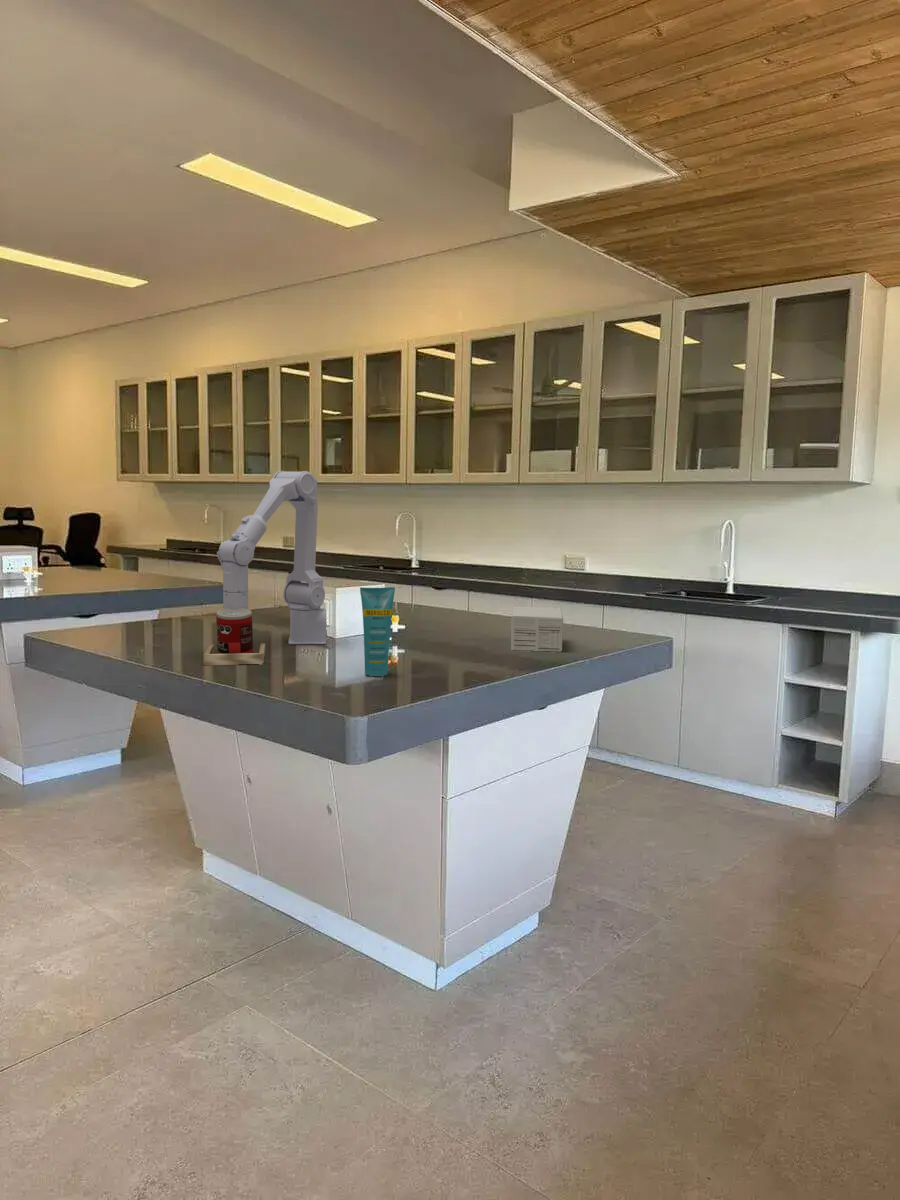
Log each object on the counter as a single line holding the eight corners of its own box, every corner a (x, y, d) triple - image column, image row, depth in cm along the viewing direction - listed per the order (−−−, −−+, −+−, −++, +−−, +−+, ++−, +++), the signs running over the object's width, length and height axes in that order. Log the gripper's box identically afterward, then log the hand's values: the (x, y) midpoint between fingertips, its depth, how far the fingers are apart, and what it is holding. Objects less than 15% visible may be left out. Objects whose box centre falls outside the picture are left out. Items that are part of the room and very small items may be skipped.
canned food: (216, 653, 200) (214, 608, 197) (251, 650, 203) (249, 606, 200) (219, 664, 193) (217, 617, 190) (255, 661, 196) (254, 615, 193)
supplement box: (511, 639, 232) (512, 605, 230) (560, 641, 230) (561, 607, 229) (509, 651, 215) (511, 614, 214) (562, 653, 214) (563, 616, 212)
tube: (361, 677, 181) (362, 588, 179) (357, 673, 186) (358, 585, 183) (395, 676, 183) (396, 588, 181) (391, 671, 188) (392, 585, 185)
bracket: (265, 653, 205) (265, 643, 205) (263, 664, 193) (263, 654, 192) (209, 654, 203) (209, 644, 203) (204, 665, 190) (203, 654, 190)
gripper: (220, 587, 206) (221, 642, 208) (215, 595, 192) (215, 654, 194) (250, 587, 208) (251, 642, 209) (247, 595, 193) (247, 653, 195)
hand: (236, 648), depth 202 cm, fingers closed, pressing on canned food
